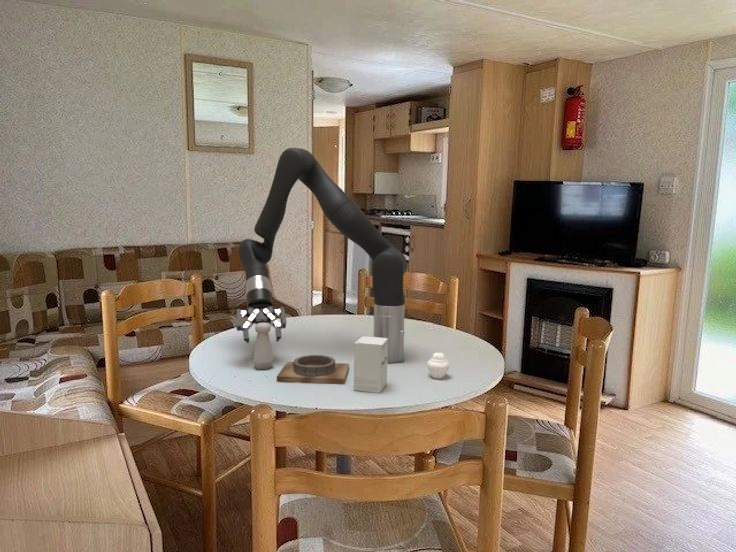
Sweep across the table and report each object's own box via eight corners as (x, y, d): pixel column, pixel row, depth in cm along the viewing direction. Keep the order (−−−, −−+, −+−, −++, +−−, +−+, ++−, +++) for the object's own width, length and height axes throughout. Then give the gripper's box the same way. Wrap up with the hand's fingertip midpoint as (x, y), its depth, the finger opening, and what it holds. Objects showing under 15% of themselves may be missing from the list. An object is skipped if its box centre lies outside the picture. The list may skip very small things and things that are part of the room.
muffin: (436, 371, 151) (437, 347, 150) (453, 377, 147) (454, 352, 146) (421, 376, 147) (422, 351, 146) (438, 382, 143) (439, 356, 142)
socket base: (349, 368, 153) (349, 355, 152) (344, 384, 140) (344, 369, 139) (287, 366, 154) (287, 353, 153) (276, 381, 141) (276, 367, 141)
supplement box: (380, 393, 134) (381, 344, 132) (352, 390, 136) (353, 342, 134) (387, 384, 141) (388, 337, 139) (360, 381, 143) (361, 335, 141)
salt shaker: (260, 363, 157) (259, 320, 155) (277, 365, 155) (277, 322, 153) (249, 369, 151) (248, 324, 149) (266, 371, 149) (266, 326, 147)
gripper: (234, 287, 156) (237, 335, 147) (283, 286, 160) (289, 332, 151) (234, 302, 162) (237, 348, 153) (281, 300, 166) (286, 345, 157)
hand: (263, 340), depth 152 cm, fingers open, 8 cm apart
